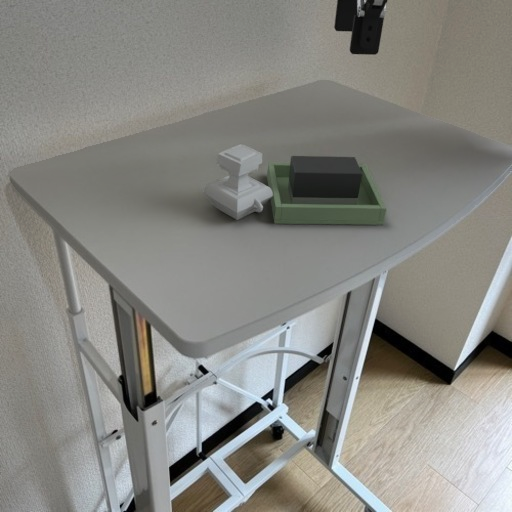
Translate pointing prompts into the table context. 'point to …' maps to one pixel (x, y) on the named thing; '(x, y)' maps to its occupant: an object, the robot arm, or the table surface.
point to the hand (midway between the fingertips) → (354, 41)
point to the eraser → (324, 180)
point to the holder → (285, 212)
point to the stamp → (238, 183)
